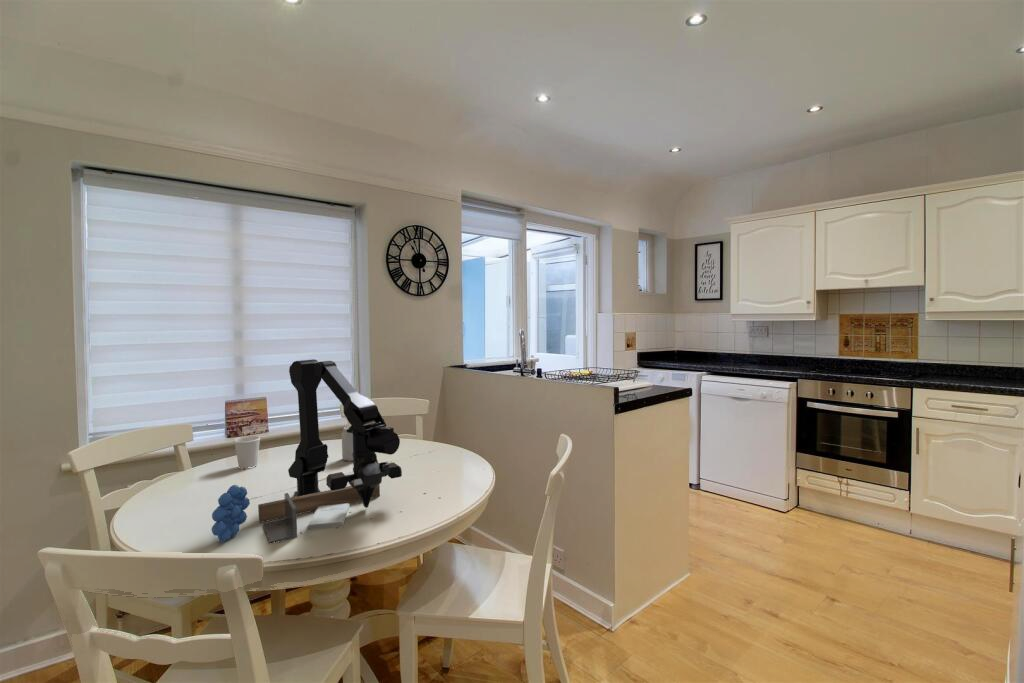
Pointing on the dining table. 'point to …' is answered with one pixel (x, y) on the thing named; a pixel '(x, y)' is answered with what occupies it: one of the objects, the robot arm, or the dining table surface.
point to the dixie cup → (247, 451)
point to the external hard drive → (329, 516)
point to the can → (347, 445)
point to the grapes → (230, 512)
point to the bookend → (283, 524)
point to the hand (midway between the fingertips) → (366, 507)
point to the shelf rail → (311, 502)
